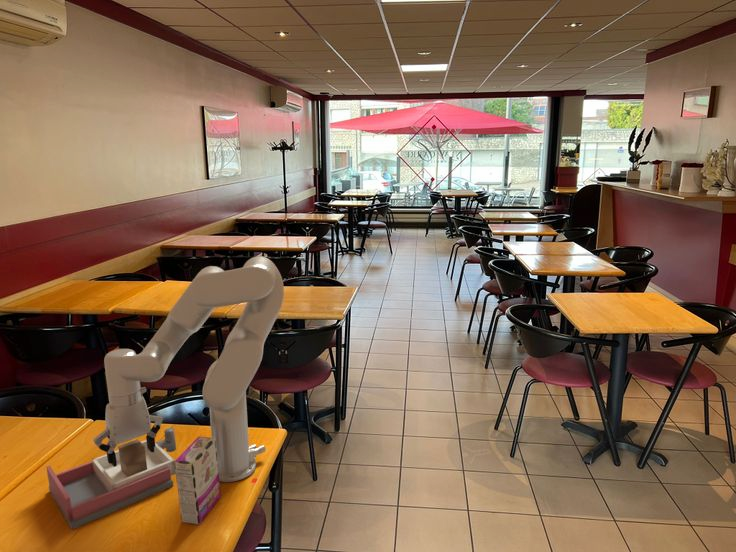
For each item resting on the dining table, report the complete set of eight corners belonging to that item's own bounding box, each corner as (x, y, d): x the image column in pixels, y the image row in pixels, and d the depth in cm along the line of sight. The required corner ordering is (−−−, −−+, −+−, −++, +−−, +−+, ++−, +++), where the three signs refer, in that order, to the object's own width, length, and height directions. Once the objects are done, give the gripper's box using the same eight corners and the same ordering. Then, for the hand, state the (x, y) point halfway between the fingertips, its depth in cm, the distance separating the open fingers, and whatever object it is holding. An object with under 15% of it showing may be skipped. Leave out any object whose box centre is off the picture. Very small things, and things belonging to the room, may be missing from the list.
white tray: (169, 444, 156) (166, 422, 154) (192, 466, 145) (190, 443, 143) (94, 473, 142) (90, 449, 141) (114, 499, 131) (110, 474, 129)
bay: (143, 455, 153) (140, 431, 152) (173, 485, 139) (170, 459, 137) (49, 491, 137) (45, 465, 136) (71, 529, 123) (67, 501, 121)
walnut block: (140, 462, 145) (137, 439, 143) (147, 470, 141) (144, 446, 140) (121, 469, 142) (118, 446, 140) (127, 478, 138) (124, 453, 137)
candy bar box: (203, 494, 135) (198, 435, 132) (221, 496, 134) (216, 437, 131) (179, 523, 125) (173, 460, 121) (199, 526, 124) (193, 462, 120)
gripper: (153, 382, 145) (159, 439, 149) (84, 403, 134) (93, 464, 138) (164, 391, 140) (170, 450, 144) (93, 413, 128) (102, 476, 132)
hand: (132, 457), depth 141 cm, fingers open, 9 cm apart
